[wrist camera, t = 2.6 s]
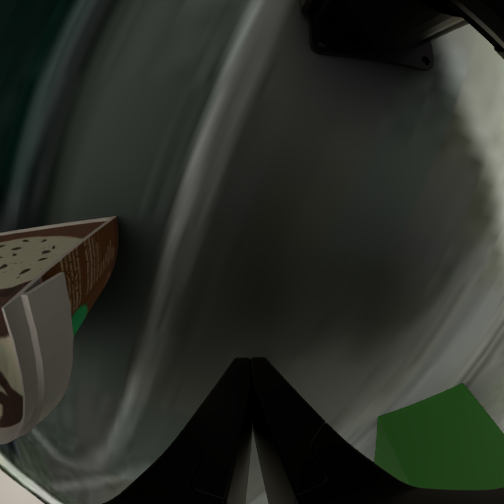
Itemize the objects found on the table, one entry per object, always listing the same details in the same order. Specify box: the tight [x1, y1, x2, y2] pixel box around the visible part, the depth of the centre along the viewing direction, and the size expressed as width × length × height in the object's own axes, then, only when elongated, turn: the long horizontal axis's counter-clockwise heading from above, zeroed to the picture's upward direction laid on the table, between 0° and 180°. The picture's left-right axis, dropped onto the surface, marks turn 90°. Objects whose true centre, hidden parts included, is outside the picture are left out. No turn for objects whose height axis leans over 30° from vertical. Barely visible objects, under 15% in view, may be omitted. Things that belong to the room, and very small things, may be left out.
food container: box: [0, 216, 119, 444], centre depth 11 cm, size 12×6×10 cm, turn 94°
